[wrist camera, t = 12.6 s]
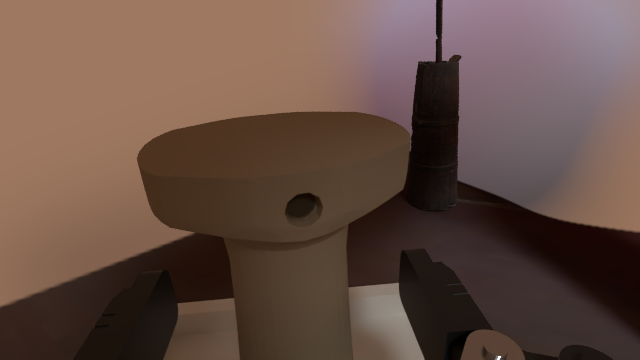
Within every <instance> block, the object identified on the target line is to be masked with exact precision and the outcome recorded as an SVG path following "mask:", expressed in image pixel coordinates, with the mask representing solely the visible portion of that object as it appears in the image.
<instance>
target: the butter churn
mask: <svg viewBox="0 0 640 360" xmlns="http://www.w3.org/2000/svg"><path fill="white" fill-rule="evenodd" d="M436 1H437V2H436V35H437V37H438V39H436V61H435V62H432V61H431V62H430V61H428V62H422V61H421V62H420V61H419V62H418V69H417V75H416V85H415V93H414V102H413V103H414V104H413V115H412V130H413V134H412V136H411V140H412V142H411V153H410V167H409V178H408V193H407V199H408V201H409V203H410V204H412V205H413V206H415V207H418V208H419V209H423V210H446V209H447V207H449V206H454V205H456V203H457V166H458V161H457V158H458V156H457V154H458V153H457V152H458V150H457V147H458V121H459V116H458V110H459V108H458V107H459V62H458V61H459V60H460V59H461V56H460V55H454V56H452V57H451V58H450V59H449V62H447V61H442V44H441V42H442V41H441V39H442V9H443V8H442V4H443V3H442V2H443V0H436Z"/></svg>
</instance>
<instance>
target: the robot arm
mask: <svg viewBox="0 0 640 360" xmlns="http://www.w3.org/2000/svg"><path fill="white" fill-rule="evenodd" d="M399 294H400V299H401V303H402V305H403V308H404V310H405V313H406V315H407V317H408V320H409V322H410V325H411V327H412V330H413V332H414V335H415V337H416V339H417V342H418V344H419V347H420V349H421V352H422V354H423V356H424V359H425V360H613V359H612V358H610V357H609V356H607V355H605V354H604V353H602V352H600V351H598V350H596V349H593V348H590V347H587V346H582V345H569V346H567V347H565V348H563V349H562V350H561V352H560V355H559V358H557V357H552V356H546V355H541V354H535V353H530V352H526V351H523V350H521V349H520V347H519V346H518V345H517V344H516V343H515V342H514V341H513V340H511V339H510V338H509V337H507V336H505V335H503V334H501V333H499V332H496V331H494V330H493V329H492V327H491V326H490V324H489V323H488V321H487V320H486V319H485V317H484V316H483V314H482V313H481V311H480V310H479V308H478V307H477V305H476V304H475V302H474V301H473V299H472V298H471V296H470V295H469V294H468V292H467V290H466V289H465V287H464V286H463V285H462V284H461V281H460V280H459V278H458V277H457V276H456V274H455V273H454V271H453V270H451V269H450V268H449V267H447V266H446V265H445V264H443V263H442V262H434V263H433V262H432V260H431V258H430V257H429V255H428V253H427V252H426V250H425V249H412V250H403V251H402V252H401V258H400V273H399ZM177 320H178V304H177V300H176V297H175V293H174V290H173V286H172V282H171V279H170V275H169V273H168V271H167V270H159V271H147V272H142V273H140V275H139V276H138V278H137V280H136V281H135V283H134V285H133V286H132V288H131V289H124V290H123V291H122V292H121V293H120V294H118V295H117V296H116V297H115V298H114V299H113V300H111V301H110V303H109V305H108V306H107V308H106V309H105V311H104V312H103V314H102V317H100V318H99V320H98V322H97V323H96V325H95V328H94V329H92V331H91V332H90V334H89V336H88V337H87V339H86V340H85V342H84V343H83V345H82V346H81V348H80V349H79V351H78V353H77V354H76V356H75V357H74V359H73V360H163V358H164V356H165V353H166V350H167V348H168V345H169V342H170V340H171V337H172V334H173V332H174V329H175V326H176V324H177Z"/></svg>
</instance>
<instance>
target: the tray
mask: <svg viewBox="0 0 640 360" xmlns="http://www.w3.org/2000/svg"><path fill="white" fill-rule="evenodd" d="M348 290H349V310H350V323H351V336H352V348H353V360H425V359H424V356H423V354H422V352H421V349H420V347H419V344H418V342H417V339H416V337H415V335H414V332H413V330H412V327H411V325H410V322H409V320H408V317H407V315H406V313H405V310H404V308H403V305H402V303H401V299H400V294H399V283H392V284H382V285H371V286H360V287H349V288H348ZM177 304H178V320H177V324H176V326H175V329H174V332H173V334H172V337H171V340H170V342H169V345H168V348H167V350H166V353H165V356H164V358H163V360H240V355H239V343H238V331H237V320H236V311H235V303H234V298H230V299H220V300H209V301H198V302H187V303H177Z"/></svg>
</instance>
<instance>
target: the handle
mask: <svg viewBox="0 0 640 360" xmlns="http://www.w3.org/2000/svg"><path fill="white" fill-rule="evenodd" d="M409 147H410V135H409V132H408V131H407V130H406V129H405V128H403V127H402V126H400V125H399V124H397V123H395V122H393V121H390V120H388V119H385V118H382V117H379V116H375V115H370V114H365V113H358V112H292V113H279V114H269V115H258V116H248V117H239V118H232V119H226V120H220V121H215V122H210V123H205V124H200V125H195V126H190V127H186V128H181V129H176V130H172V131H169V132H167V133H164V134H162V135H160V136H158V137H156V138H154V139H152V140H151V141H149V142H148V143H147V144H145V145H144V147H143V148H142V149H141V151H140V152H139V154H138V157H137V161H138V165H139V169H140V172H141V176H142V180H143V184H144V188H145V191H146V195H147V198H148V201H149V205H150V207H151V209H152V212H153V213H154V215H155V216H156V217H157V218H158V219H159V220H160V221H161V222H162V223H164V224H166V225H167V226H169V227H170V228H175V229H180V230H185V231H191V232H195V233H202V234H207V235H214V236H219V237H223V238H224V241H225V245H226V248H227V252H228V256H229V259H230V267H231V276H232V285H233V294H234V303H235V311H236V320H237V331H238V343H239V355H240V360H353V348H352V336H351V323H350V310H349V290H348V271H347V251H346V244H347V234H348V224H349V223H351V222H353V221H354V220H356V219H358V218H360V217H362V216H364V215H365V214H367V213H369V212H370V211H372V210H374V209H375V208H377V207H378V206H380V205H382V204H383V203H384V202H386V201H387V200H389V199H390V198H392V197H393V196H395V195H396V194H397V193H399V192H400V191H401V190H403V188H404V185H405V181H406V176H407V170H408V160H409Z"/></svg>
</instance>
